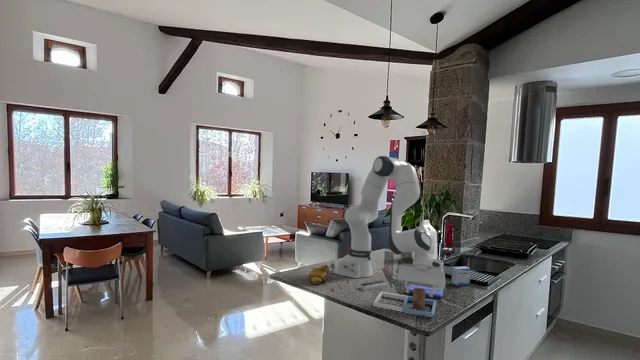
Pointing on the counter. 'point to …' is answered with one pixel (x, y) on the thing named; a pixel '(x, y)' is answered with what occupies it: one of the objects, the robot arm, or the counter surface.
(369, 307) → the counter surface
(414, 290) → the brown cylinder
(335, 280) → the counter surface
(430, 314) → the sorting rack
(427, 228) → the milk
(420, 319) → the counter surface
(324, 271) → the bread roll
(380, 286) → the multiport hub
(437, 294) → the dish towel
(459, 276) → the medicine box
